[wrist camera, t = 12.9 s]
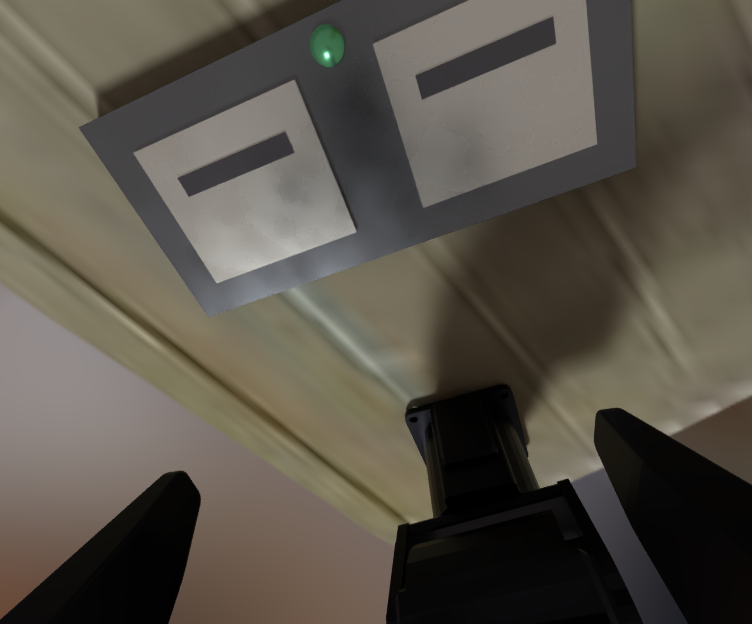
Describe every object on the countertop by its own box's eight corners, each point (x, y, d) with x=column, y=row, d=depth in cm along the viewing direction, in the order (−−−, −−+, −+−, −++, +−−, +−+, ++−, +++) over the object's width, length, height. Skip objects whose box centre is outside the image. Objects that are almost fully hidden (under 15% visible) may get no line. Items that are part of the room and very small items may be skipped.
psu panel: (619, 162, 16) (640, 168, 15) (217, 305, 20) (206, 320, 18) (605, -118, 12) (632, -144, 11) (98, 125, 16) (73, 128, 14)
